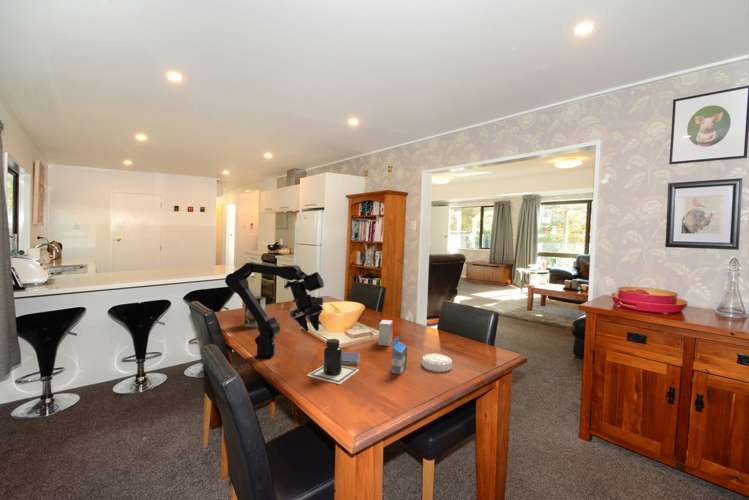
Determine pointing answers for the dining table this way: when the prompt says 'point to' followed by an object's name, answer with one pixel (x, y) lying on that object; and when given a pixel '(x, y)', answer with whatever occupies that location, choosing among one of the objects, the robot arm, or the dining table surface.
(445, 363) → the mooncake
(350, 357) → the pad
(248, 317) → the coffee box
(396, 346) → the label tape cartridge
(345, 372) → the marked card
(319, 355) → the dining table surface
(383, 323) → the small box
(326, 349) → the supplement bottle
